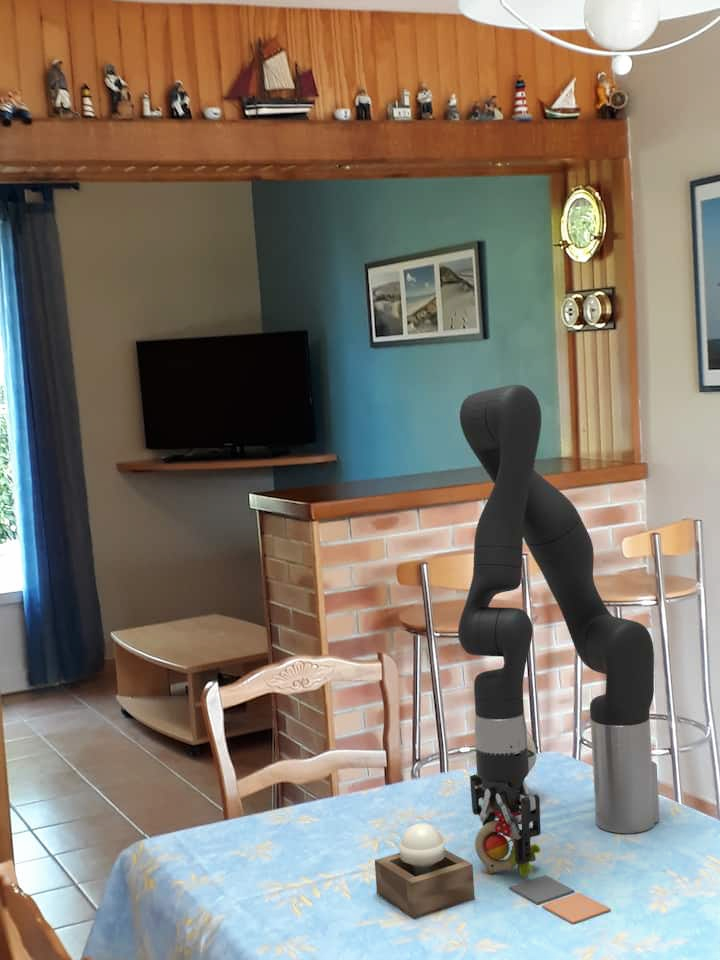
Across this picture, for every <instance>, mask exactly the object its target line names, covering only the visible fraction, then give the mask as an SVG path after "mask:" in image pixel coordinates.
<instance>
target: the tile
mask: <svg viewBox="0 0 720 960" xmlns="http://www.w3.org/2000/svg"><path fill="white" fill-rule="evenodd" d="M541 908H543V909H545V910H546V911H548V912H550V913H552V914H553V915H555V916H557V917H559V918H561V919H563V920H564V921H566V922H568V923H570V924H571V925H576V924H578V923H581V922H584V921H587V920H588V919H591V918H595V917H598V916H600V915H602V914H606V913H609V912H611V911H612V909H611V908H610V907H608V906H606V905H605V904H602V903H601V902H598V901H597V900H594V899H593V898H591V897H589V896H587V895H584V894H583V893H581V892H576V893H574V894H573V893H572V894H569V895H566V896H563V897H560V899H558V898H557V899H554V900H552V901H550V902H547V903H544V904H542V905H541Z"/></svg>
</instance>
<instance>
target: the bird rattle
mask: <svg viewBox="0 0 720 960" xmlns="http://www.w3.org/2000/svg"><path fill="white" fill-rule="evenodd" d="M491 808H492V810H493V807H492V806H491ZM493 812H494V813H495V815H496V817H497V819H495V821H491V822H488V823H487V824H485V825H484V826H483V825H482V826H481V828H480V829H479V830H478V832H477V834H476V837H475V840H474V847H475V852H476V855H477V856H478V857H477V858H478V859H479V860H480V862H482V864H483V865H484V866H485V867H486V868H487V871H488V873H489V874H494V873H496V872H503V871H504V872H505V871H509V870H510V869H513V868H514V867H516V868H517V869H519V874H520V876H521V877H522V878H524V877H526V878H527V877H528V876H529V874H530V873H531V874H532V872H533V867H532V865H531V863H533V862H535V861H536V853H540V852H541V847H540V846H539V845H537V844H531V859H530V861H529V862H527V863H524V864H518V863H516V861H515V844H514V838H515V836H514V833H513V830H512V827H511V825H509V824H507V822H506V820H505V817H504V815H503V814H501V813H500V812H496V811H494V810H493ZM512 815H513V816H518V815H521V812H520V809H519V811H518V812H517V813H515V814H512ZM518 825H521V822H518ZM492 832H495V833H496V834H491V833H492ZM490 834H491V835H490ZM506 837H507V838H509V839H507V838H506ZM511 842H512V846H511V850H510V843H511ZM509 852H510V854H509ZM508 854H509V856H508V857H507V855H508ZM506 857H507V858H506ZM505 858H506V859H505Z"/></svg>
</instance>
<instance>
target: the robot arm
mask: <svg viewBox="0 0 720 960" xmlns="http://www.w3.org/2000/svg"><path fill="white" fill-rule="evenodd" d="M459 423H460V427H461V430H462V434H463V436H464V438H465V440H466V442H467V443H468V445H469V448H470V449H471V451H472V452H473V454H474V455H475V457H476V458H477V459H478V461H479V463H480V464H481V465H482V467H483V469H484V470H485V471H486V473H487V474H488V477H490V479H491V481H492V482H493V484H494V485H493V487H492V490H491V492H490V495H489V496H488V499H487V501H486V503H485V505H484V507H483V509H482V511H481V514H480V517H479V519H478V521H477V524H476V525H477V526H476V529H475V534H474V544H473V569H472V570H473V571H472V578H471V583H470V587H469V591H468V594H467V597H466V600H465V604H464V607H463V610H462V613H461V616H460V619H459V622H458V629H457V634H458V640H459V644H460V645H461V647H462V649H463V651H465V653H467V654H469V655H470V656H478V657H480V656H482V657H502V658H503V657H504V664H503V667H501V668H497V669H496V668H495V669H491V670H485V671H483V672H480V673H479V674H477V675H476V677H475V678H474V682H473V692H474V693H473V695H474V711H475V719H474V743H475V760H476V763H475V764H476V774H473V775H470V776H469V781H470V782H469V783H470V785H469V786H470V795H471V811H472V814H473V815H475V816H477V815H478V817H479V820H480V822H481V823H482V827H483V826H484V825H485V824H487V823H488V822H491V821H495V820H498V818H497V817H496V815H495V813H494V812H493V810H494V811H496V812H500V813H501V814H503V815H504V817H505V820H506V822H507V824H509V825H511V827H512V830H513V833H514V836H515V838H514V844H515V861H516V863H518V864H524V863H527V862H529V861H530V859H531V845H532V844H531V838H534V837H538V836H541V806H540V805H541V803H540V796H539V794H530V795H529V794H527V793H526V791H525V788H524V785H523V781H525V779H526V778H527V777H528V775H529V773H530V772H529V764H528V745H527V731H528V730H527V722H526V718H525V706H524V679H525V670H526V665H527V660H528V655H529V651H530V647H531V644H532V639H533V633H534V632H533V630H534V629H533V623H532V621H531V618H530V616H529V615H528V613H527V612H525V610H523V609H521V608H519V607H498V606H497V607H496V606H494V607H493V606H491V607H490V605H491V602H492V601H493V598H494V597H495V596H496V595H499V594H503V593H506V592H511V591H514V590H517V589H519V588H520V586H521V583H522V577H523V575H522V574H523V572H522V571H523V547H524V546H523V545H524V544H523V543H524V542H525V545H526V546H527V548H528V551H529V552H530V554H531V555H532V559H534V561H535V562H536V565H537V566H538V568H539V570H540V571H541V573H542V575H543V577H544V580H545V582H546V584H547V586H548V588H549V590H550V592H551V594H552V596H553V597H554V599H555V601H556V603H557V605H558V608H559V610H560V612H561V614H562V617H563V619H564V622H565V625H566V626H567V630H568V633H569V636H570V638H571V640H572V641H571V642H572V643H573V646H574V648H575V650H576V653H577V655H578V657H579V659H580V660H581V662H582V663H583V664H584V665H585V666H586V667H587V668H589V670H592V671H595V672H597V673H598V674H604V675H605V693H604V694H602V695H598V696H595V697H594V698H593V699H592V700H591V701H590V704H589V710H590V711H589V714H590V715H589V717H590V734H591V735H590V736H591V751H592V772H593V789H594V790H593V791H594V792H593V793H594V810H595V811H594V813H595V824H596V825H597V827H599V828H600V829H602V830H603V831H607V832H611V833H617V834H618V833H619V834H635V833H636V832H637V833H640V832H641V833H643V832H645V831H648V830H650V829H652V828H653V827H654V826H655V824H656V823H659V822H660V803H659V801H660V800H659V782H658V764H657V763H656V762H654V761H653V758H652V757H653V755H652V737H651V721H650V720H651V716H650V711H651V705H652V703H653V699H654V693H655V651H654V643H653V638H652V635H651V634H650V632H649V630H648V629H647V627H646V626H645V625H643V624H642V623H640V622H637V621H635V620H631V619H627V618H626V619H625V618H623V617H617V616H614V615H613V614H612V613H611V612H610V611H609V610H608V608H607V606H606V604H605V602H603V599H602V597H601V595H600V594H599V592H598V589H597V587H596V584H595V581H594V561H595V560H594V559H595V558H594V556H595V555H594V553H595V552H594V545H593V542H592V538H591V537H590V534H589V532H588V529H587V527H586V525H585V523H584V522H583V519H582V518H581V515H580V513H579V512H578V510H577V508H576V507H575V505H574V504H573V502H572V501H571V500H570V499H569V498H568V497H567V496H566V495H565V494H564V493H562V492H561V491H560V490H559V489H558V488H557V487H555V486H554V485H553V484H551V482H549V481H548V480H547V479H545V478H544V477H543V476H542V475H541V474H540V473H538V472H537V471H536V470H535V462H536V457H537V453H538V452H537V451H538V448H539V447H538V446H539V441H540V437H541V430H542V428H541V427H542V411H541V405H540V402H539V399H538V398H537V396H536V394H535V392H533V391H532V390H531V389H530V388H528V387H527V386H526V385H522V384H511V385H505V386H500V387H496V388H492V389H488V390H487V389H486V390H482V391H477V392H473V393H472V394H470V395H468V396H467V397H466V398H464V400H463V401H462V403H461V406H460V411H459ZM480 799H481V801H482V802H481V804H480V801H479V800H480ZM491 806H492V807H493V810H492V808H491ZM519 809H520V812H521V815H518V816H513V815H512V814H515V813H517V812H518V811H519ZM518 822H521V824H518ZM531 823H532V826H531ZM520 825H521V829H520ZM491 834H496V833H495V832H492V833H491ZM491 834H490V835H491Z"/></svg>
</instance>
